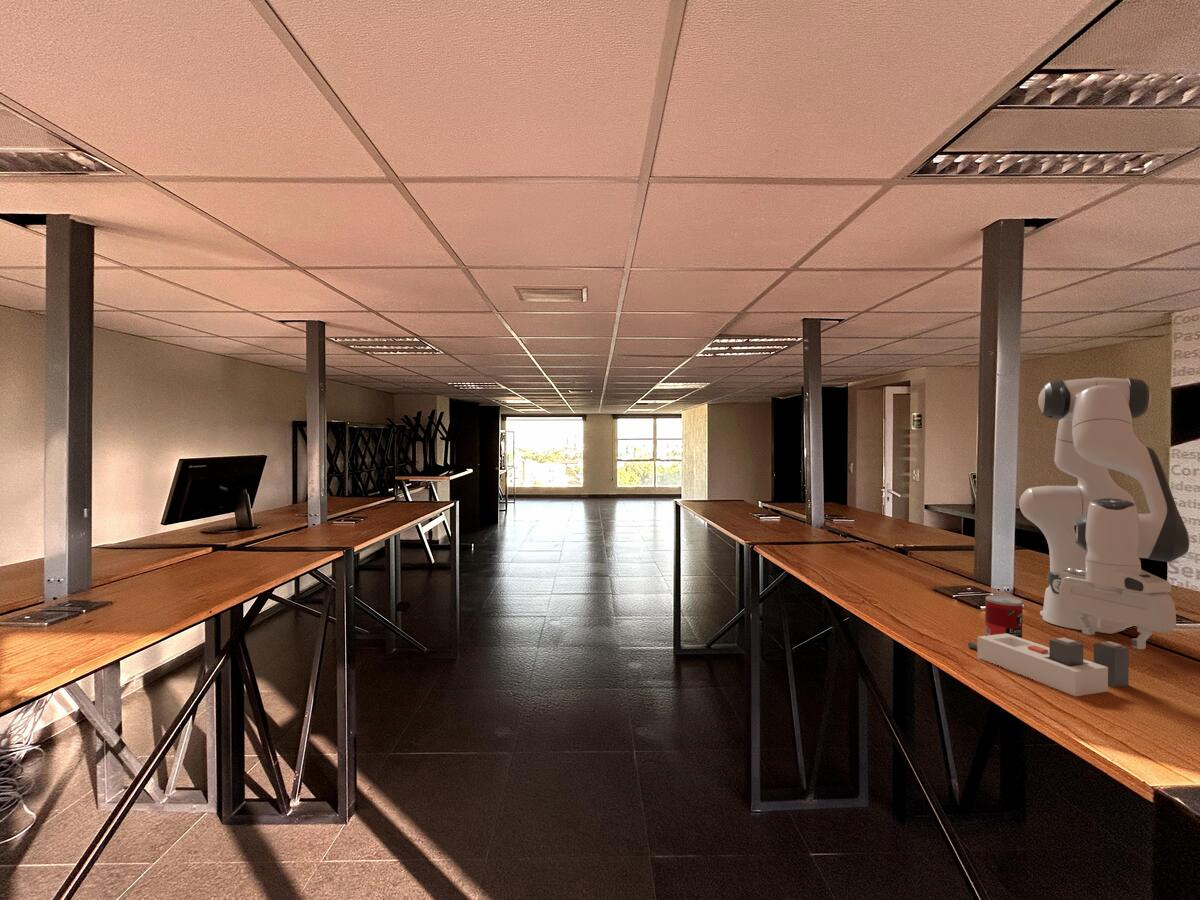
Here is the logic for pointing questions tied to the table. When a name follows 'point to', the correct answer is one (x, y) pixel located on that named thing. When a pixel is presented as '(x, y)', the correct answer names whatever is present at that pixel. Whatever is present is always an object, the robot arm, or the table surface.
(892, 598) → the table surface
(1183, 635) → the table surface
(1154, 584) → the robot arm
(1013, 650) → the pdu strip
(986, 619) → the canned food
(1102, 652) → the plug
